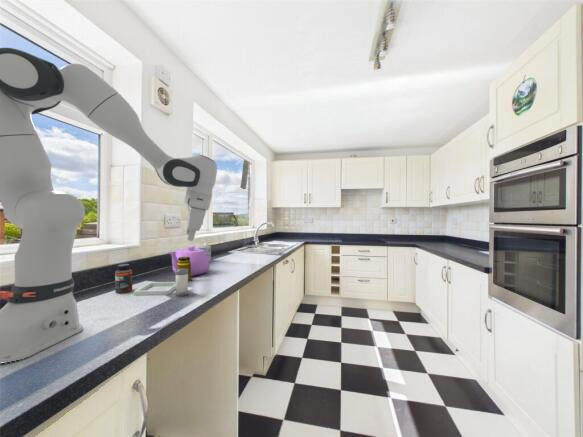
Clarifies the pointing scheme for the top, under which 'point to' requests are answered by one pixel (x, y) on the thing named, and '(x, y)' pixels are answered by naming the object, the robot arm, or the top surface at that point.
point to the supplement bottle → (123, 279)
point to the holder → (174, 297)
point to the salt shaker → (181, 282)
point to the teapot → (192, 260)
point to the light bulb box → (207, 250)
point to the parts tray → (156, 292)
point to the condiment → (185, 265)
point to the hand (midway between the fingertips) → (189, 237)
